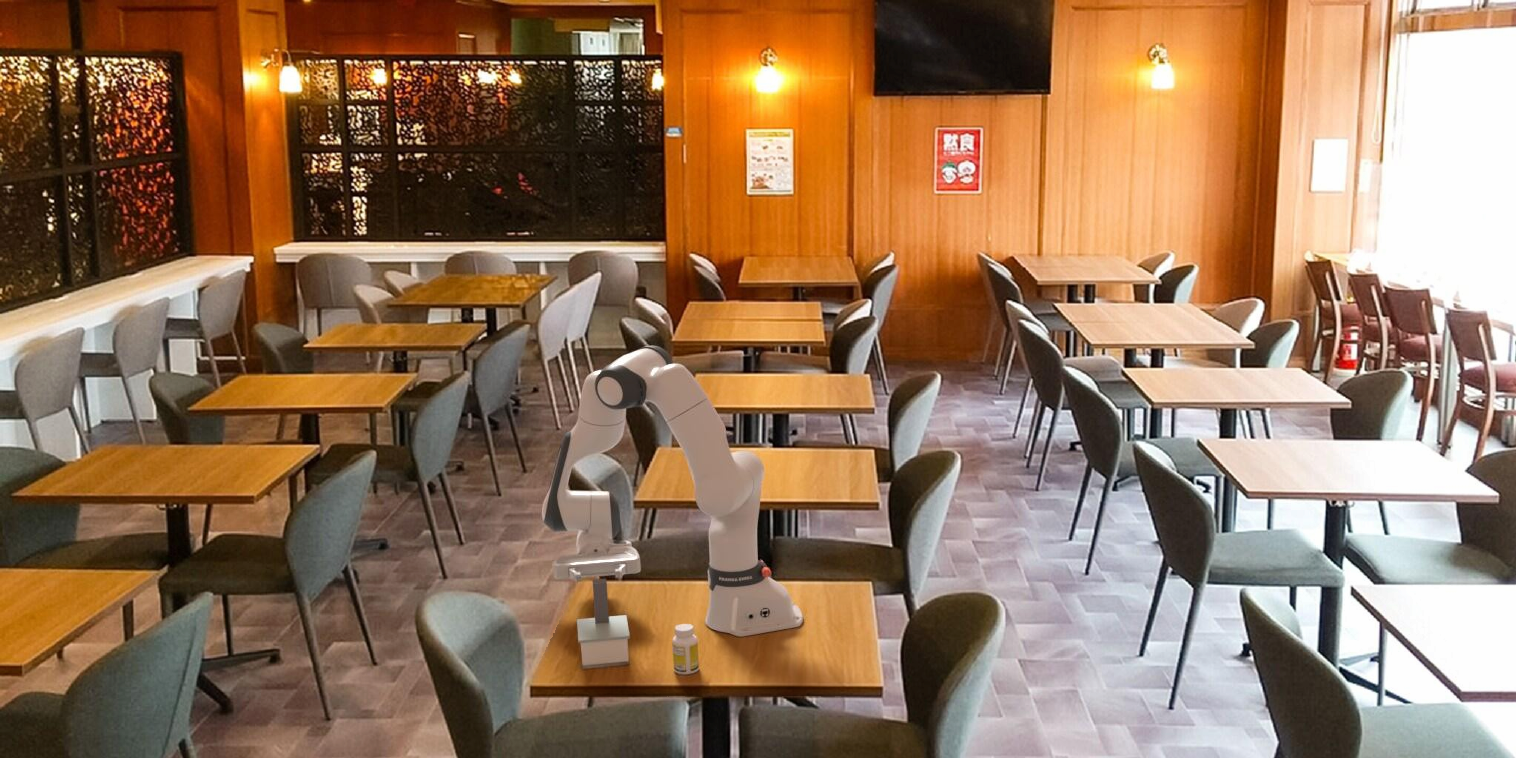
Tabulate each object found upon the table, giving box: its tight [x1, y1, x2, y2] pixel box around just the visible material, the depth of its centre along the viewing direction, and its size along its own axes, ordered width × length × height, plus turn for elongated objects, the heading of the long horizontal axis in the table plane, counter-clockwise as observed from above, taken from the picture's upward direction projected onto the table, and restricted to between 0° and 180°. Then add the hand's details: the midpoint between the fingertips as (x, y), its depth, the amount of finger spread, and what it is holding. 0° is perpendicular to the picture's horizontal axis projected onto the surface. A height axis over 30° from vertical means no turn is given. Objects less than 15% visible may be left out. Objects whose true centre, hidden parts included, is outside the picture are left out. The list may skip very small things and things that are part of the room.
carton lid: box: [576, 578, 631, 644], centre depth 314 cm, size 12×11×10 cm
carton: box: [580, 639, 630, 670], centre depth 315 cm, size 11×10×6 cm
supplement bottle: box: [671, 623, 700, 676], centre depth 307 cm, size 5×5×10 cm
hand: (598, 576), depth 329 cm, fingers open, 8 cm apart
